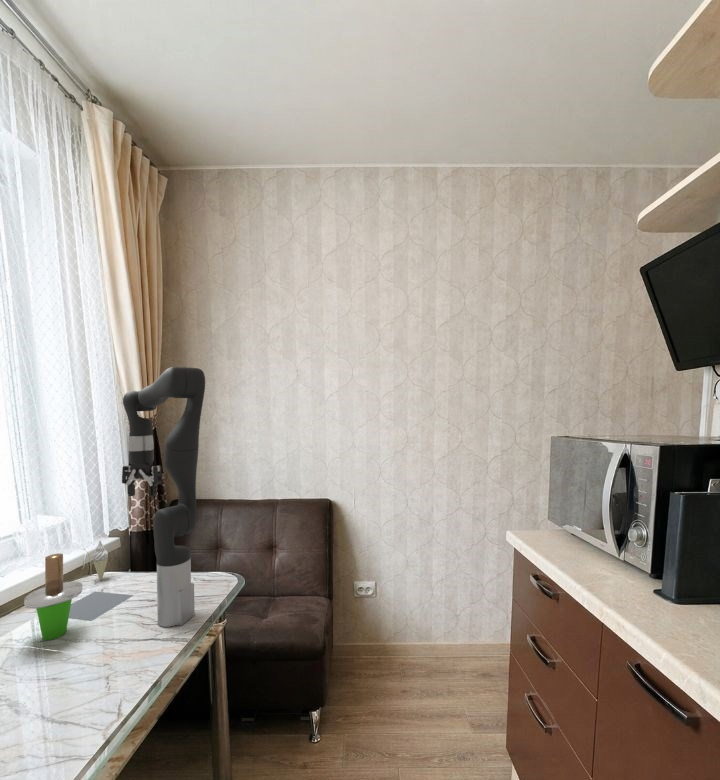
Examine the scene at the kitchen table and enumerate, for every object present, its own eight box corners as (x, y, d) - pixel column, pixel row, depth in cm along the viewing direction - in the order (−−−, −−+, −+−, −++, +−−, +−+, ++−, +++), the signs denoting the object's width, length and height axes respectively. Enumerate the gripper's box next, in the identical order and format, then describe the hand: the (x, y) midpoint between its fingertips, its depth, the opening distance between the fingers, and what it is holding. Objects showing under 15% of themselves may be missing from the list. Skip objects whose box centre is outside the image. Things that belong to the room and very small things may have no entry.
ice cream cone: (89, 583, 146) (88, 541, 146) (102, 577, 150) (102, 537, 151) (98, 585, 144) (98, 543, 144) (112, 579, 149) (111, 538, 149)
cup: (39, 650, 106) (39, 607, 106) (29, 638, 111) (29, 598, 111) (79, 633, 113) (79, 594, 113) (67, 623, 118) (67, 586, 119)
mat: (133, 596, 134) (133, 595, 134) (91, 622, 119) (91, 620, 119) (95, 592, 138) (95, 591, 138) (49, 617, 122) (49, 615, 122)
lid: (93, 587, 117) (93, 549, 117) (49, 610, 104) (49, 567, 105) (58, 584, 120) (58, 546, 120) (11, 605, 107) (11, 563, 108)
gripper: (115, 450, 135) (115, 498, 135) (150, 450, 132) (151, 499, 132) (132, 447, 143) (133, 493, 142) (166, 447, 139) (167, 494, 139)
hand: (142, 496), depth 137 cm, fingers open, 8 cm apart
